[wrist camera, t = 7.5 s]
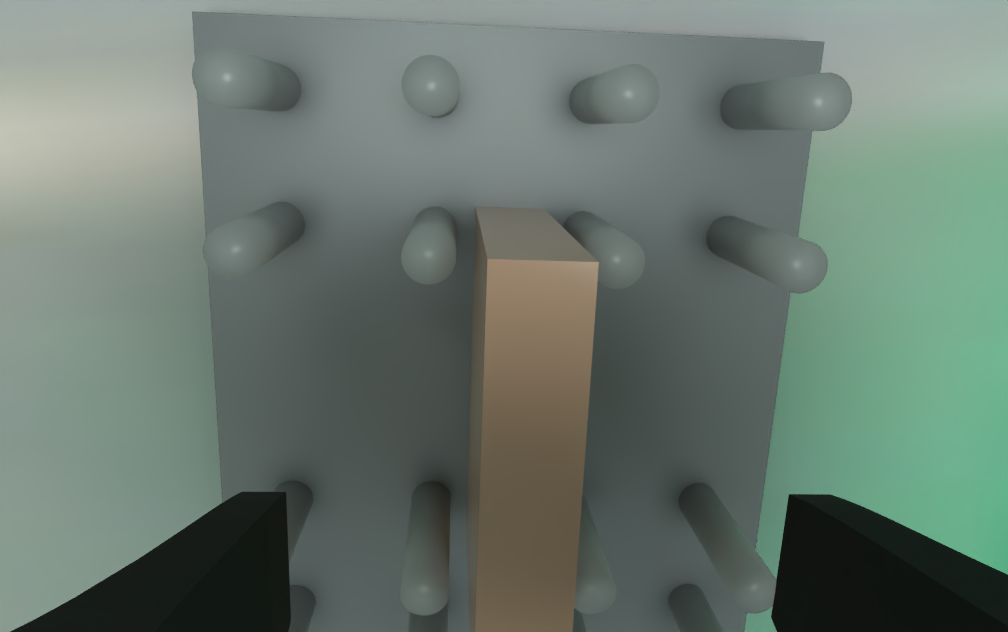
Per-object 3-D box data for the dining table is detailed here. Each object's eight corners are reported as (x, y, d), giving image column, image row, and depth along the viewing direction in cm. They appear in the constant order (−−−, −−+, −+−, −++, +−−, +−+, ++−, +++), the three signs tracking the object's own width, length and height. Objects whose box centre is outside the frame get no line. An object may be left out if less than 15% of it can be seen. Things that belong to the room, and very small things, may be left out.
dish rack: (729, 623, 22) (807, 765, 17) (241, 626, 21) (177, 778, 16) (804, 46, 18) (934, 16, 13) (207, 17, 17) (107, -25, 12)
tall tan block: (527, 516, 19) (565, 725, 13) (466, 515, 19) (471, 726, 13) (544, 208, 17) (598, 261, 11) (475, 206, 17) (487, 258, 11)
